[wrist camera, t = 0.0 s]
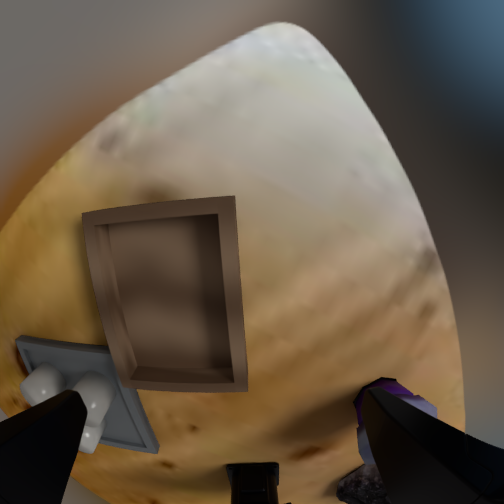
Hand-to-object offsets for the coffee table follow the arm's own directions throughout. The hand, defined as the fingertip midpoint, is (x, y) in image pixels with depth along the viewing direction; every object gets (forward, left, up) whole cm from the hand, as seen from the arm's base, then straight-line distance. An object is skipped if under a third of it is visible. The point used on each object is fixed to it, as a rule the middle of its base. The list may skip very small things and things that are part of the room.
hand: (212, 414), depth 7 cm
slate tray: (-14, +18, -15) cm, 28 cm away
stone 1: (-12, +22, -14) cm, 28 cm away
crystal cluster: (-36, -19, -15) cm, 43 cm away
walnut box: (-2, +5, -15) cm, 16 cm away
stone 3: (-17, +18, -14) cm, 29 cm away
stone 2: (-12, +15, -14) cm, 23 cm away
